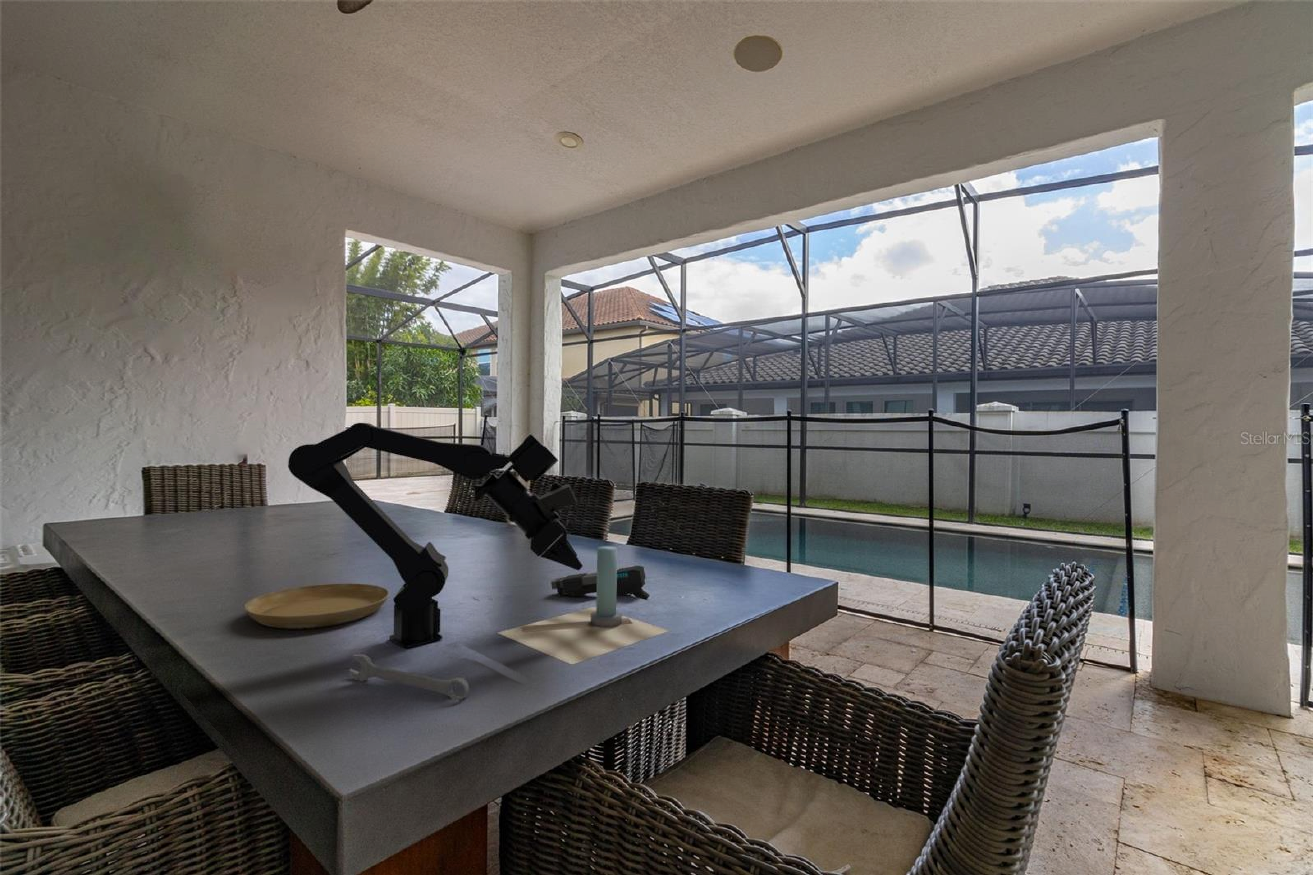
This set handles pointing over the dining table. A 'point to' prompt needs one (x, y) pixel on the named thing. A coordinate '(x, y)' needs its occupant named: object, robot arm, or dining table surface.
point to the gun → (583, 584)
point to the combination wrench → (406, 678)
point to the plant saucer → (316, 605)
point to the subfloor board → (580, 636)
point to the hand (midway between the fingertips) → (577, 562)
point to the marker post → (606, 589)
